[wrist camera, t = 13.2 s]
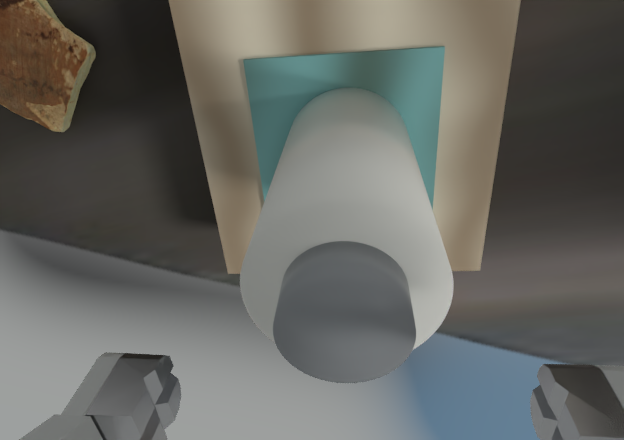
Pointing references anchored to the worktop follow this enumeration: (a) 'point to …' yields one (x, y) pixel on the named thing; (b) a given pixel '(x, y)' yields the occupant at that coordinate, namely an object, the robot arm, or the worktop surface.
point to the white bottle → (347, 244)
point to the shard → (40, 63)
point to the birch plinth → (349, 74)
